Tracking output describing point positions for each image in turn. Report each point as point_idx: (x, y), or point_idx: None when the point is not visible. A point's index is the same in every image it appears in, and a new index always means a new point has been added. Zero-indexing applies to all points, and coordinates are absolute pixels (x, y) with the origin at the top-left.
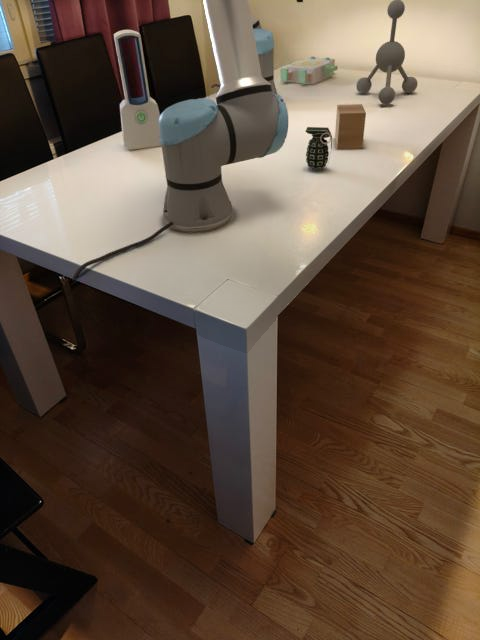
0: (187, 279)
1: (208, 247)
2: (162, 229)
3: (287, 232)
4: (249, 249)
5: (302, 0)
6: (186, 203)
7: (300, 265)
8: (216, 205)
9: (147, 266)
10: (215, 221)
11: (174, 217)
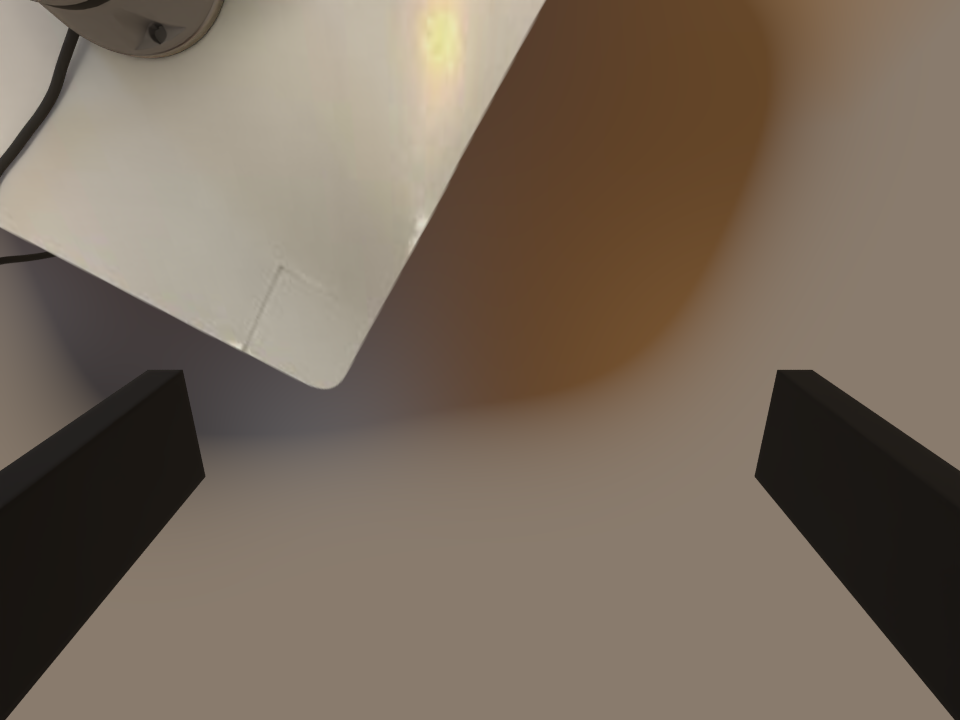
0: (203, 265)
1: (208, 134)
2: (64, 63)
3: (386, 61)
4: (304, 147)
5: (198, 482)
6: (85, 23)
7: (417, 220)
8: (173, 4)
9: (102, 215)
10: (191, 32)
11: (73, 29)
